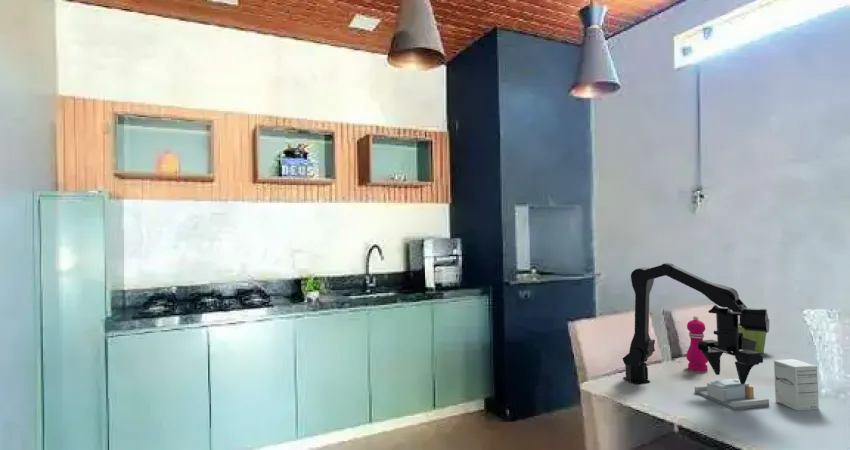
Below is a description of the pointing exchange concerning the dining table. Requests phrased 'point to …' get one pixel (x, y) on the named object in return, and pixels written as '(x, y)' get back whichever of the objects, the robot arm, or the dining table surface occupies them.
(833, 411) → the dining table surface
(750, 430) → the dining table surface
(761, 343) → the plant pot
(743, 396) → the light blue knobbed block
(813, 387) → the supplement box
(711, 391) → the mounting plate
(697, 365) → the pepper mill
